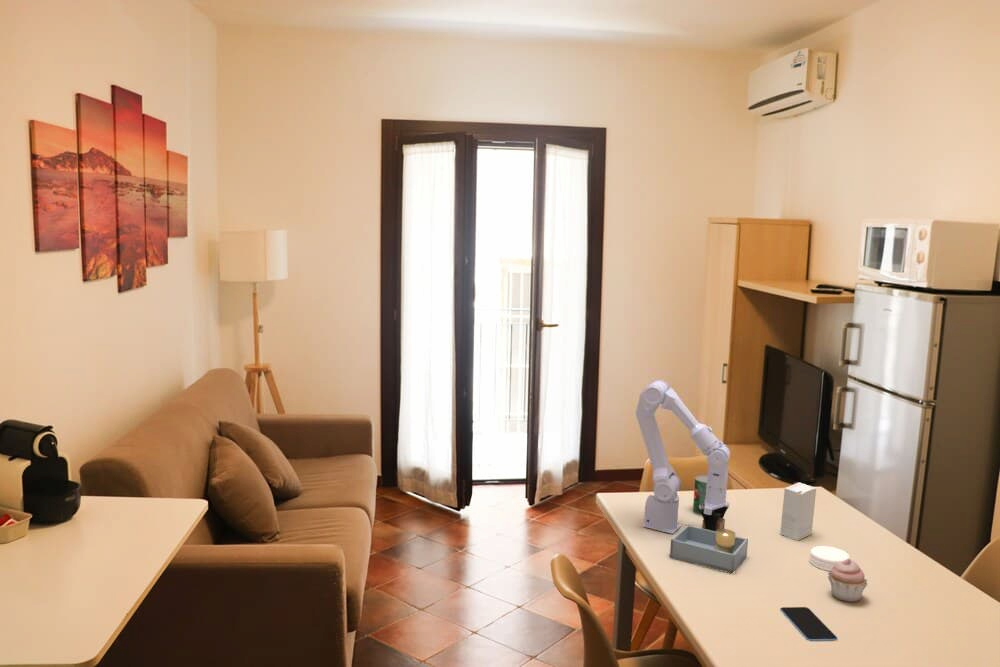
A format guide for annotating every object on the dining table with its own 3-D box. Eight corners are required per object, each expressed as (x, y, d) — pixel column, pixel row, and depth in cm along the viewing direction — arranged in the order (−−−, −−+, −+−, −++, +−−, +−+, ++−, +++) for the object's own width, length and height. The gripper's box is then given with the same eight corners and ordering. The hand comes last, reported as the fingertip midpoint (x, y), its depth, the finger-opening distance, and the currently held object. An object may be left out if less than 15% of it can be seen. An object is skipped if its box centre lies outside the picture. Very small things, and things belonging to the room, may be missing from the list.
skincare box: (794, 528, 241) (798, 481, 239) (813, 535, 237) (817, 487, 235) (779, 535, 236) (783, 486, 234) (797, 541, 232) (802, 492, 229)
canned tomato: (689, 507, 256) (691, 474, 255) (712, 507, 257) (715, 474, 256) (697, 517, 248) (700, 483, 247) (722, 516, 249) (724, 482, 248)
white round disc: (854, 565, 217) (855, 553, 217) (840, 576, 210) (841, 563, 209) (818, 554, 224) (819, 542, 223) (803, 564, 217) (804, 552, 216)
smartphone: (807, 606, 192) (839, 638, 177) (807, 609, 192) (839, 642, 177) (778, 606, 191) (807, 639, 176) (777, 609, 191) (807, 642, 176)
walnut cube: (701, 536, 233) (702, 520, 232) (707, 531, 237) (708, 514, 236) (718, 540, 230) (719, 524, 229) (723, 535, 234) (725, 518, 234)
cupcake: (817, 591, 201) (820, 553, 199) (845, 585, 204) (849, 548, 203) (845, 608, 192) (849, 568, 191) (874, 602, 195) (879, 563, 194)
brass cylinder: (711, 557, 216) (713, 533, 215) (716, 551, 220) (719, 527, 219) (730, 562, 213) (732, 537, 212) (735, 556, 217) (737, 531, 216)
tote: (669, 557, 218) (671, 539, 217) (686, 541, 229) (687, 524, 228) (732, 573, 209) (734, 555, 208) (746, 556, 220) (747, 539, 219)
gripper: (722, 496, 223) (719, 542, 225) (737, 482, 235) (733, 526, 237) (698, 490, 227) (694, 536, 229) (713, 477, 239) (710, 521, 241)
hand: (713, 531), depth 233 cm, fingers closed on walnut cube, 5 cm apart
